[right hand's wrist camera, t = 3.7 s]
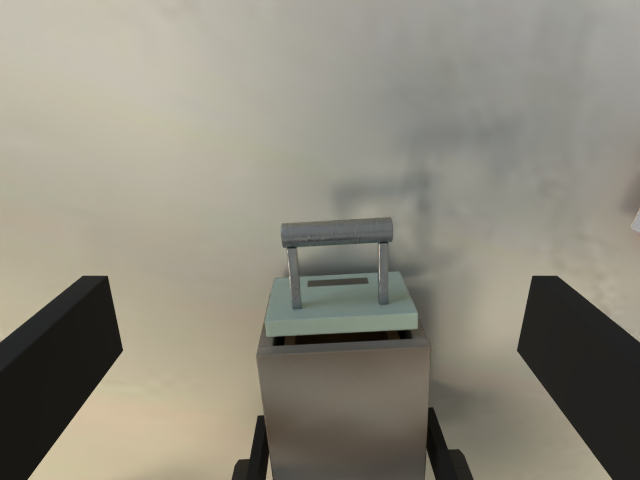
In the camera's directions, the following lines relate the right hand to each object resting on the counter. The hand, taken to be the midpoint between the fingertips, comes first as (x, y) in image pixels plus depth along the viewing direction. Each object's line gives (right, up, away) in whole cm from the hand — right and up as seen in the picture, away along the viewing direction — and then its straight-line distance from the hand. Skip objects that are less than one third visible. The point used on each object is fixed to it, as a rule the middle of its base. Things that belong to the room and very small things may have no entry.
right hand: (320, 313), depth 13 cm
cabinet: (+2, -8, +22) cm, 24 cm away
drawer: (+2, -4, +19) cm, 20 cm away
